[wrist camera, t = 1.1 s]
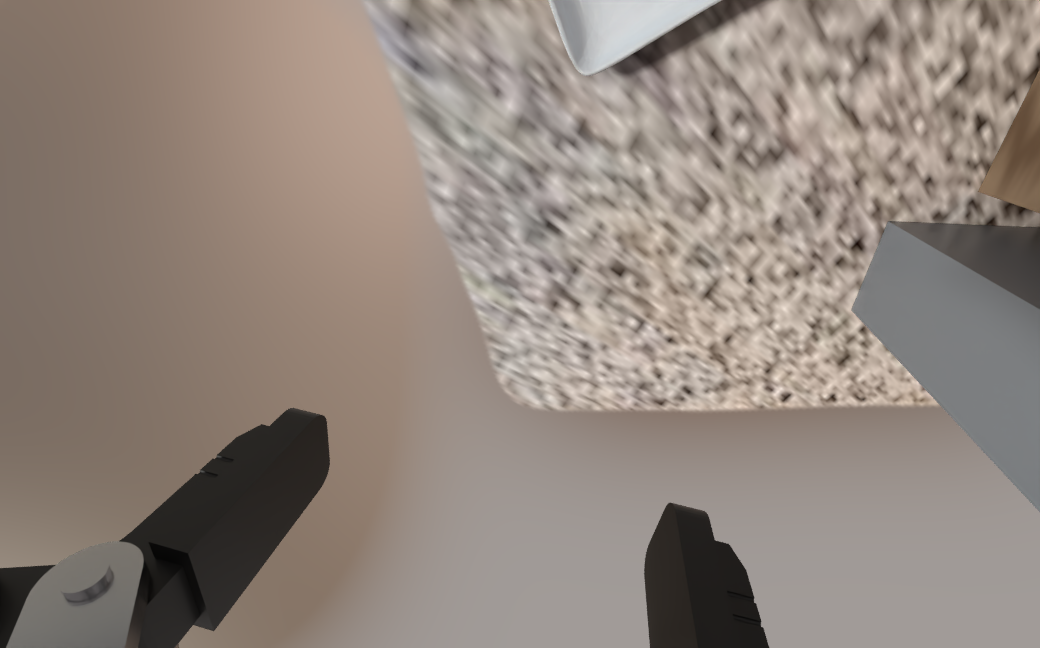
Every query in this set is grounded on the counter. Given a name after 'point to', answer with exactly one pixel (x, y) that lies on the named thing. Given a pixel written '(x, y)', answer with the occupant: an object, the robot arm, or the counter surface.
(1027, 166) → the stand
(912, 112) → the counter surface
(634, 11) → the salad plate
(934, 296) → the base block
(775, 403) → the counter surface
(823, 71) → the counter surface
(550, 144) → the counter surface
